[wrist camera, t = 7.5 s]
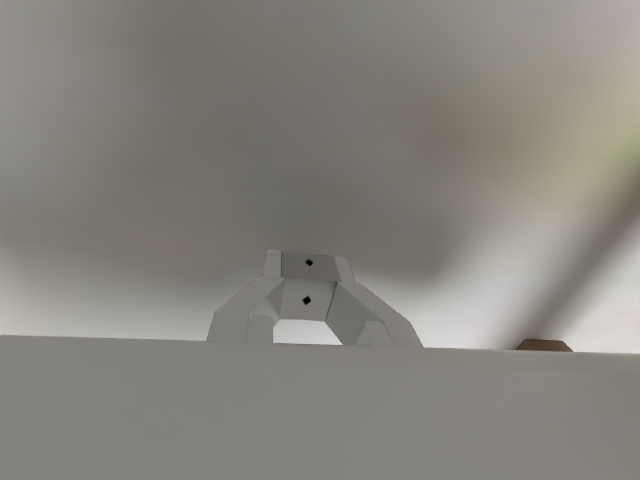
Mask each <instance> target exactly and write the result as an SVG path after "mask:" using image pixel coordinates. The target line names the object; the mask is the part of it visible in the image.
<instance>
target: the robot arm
mask: <svg viewBox="0 0 640 480" xmlns="http://www.w3.org/2000/svg"><path fill="white" fill-rule="evenodd" d="M279 319H300V320H315V321H326V322H325V323H326V324H327V325H328V326H329V328H330V329H331V330H332V331H333V333H334V334H335V335H336V336H337V338H338V339H339V340H340V341H341V343H342V344H343V345H322V344H288V343H273V327H274V326H275V324H276V323H277V322H278V320H279ZM0 480H640V354H631V353H595V352H561V351H527V350H494V349H458V348H425V347H423V345H422V344H421V342H420V340H419V338H418V336H417V334H416V332H415V330H414V328H413V326H412V325H411V323H410V322H409V321H408V320H407V319H405V318H404V317H403V316H402V315H400V314H399V313H398V312H396V311H395V310H394V309H392V308H391V307H390V306H388V305H387V304H386V303H385V302H383V301H382V300H381V299H379V298H378V297H377V296H375V295H374V294H373V293H372V292H370V291H369V290H368V289H366V288H365V287H364V286H362V285H361V284H360V283H356V282H355V279H354V276H353V274H352V271H351V268H350V266H349V263H348V260H347V258H346V257H344V256H327V255H314V254H307V253H298V252H290V251H282V250H281V251H280V250H272V249H267V250H266V257H265V265H264V273H263V276H259V277H258V278H257V279H255V280H254V281H253V282H252V283H250V284H249V285H248V286H247V287H245V288H244V289H243V290H242V291H240V292H239V293H238V294H237V295H235V296H234V297H233V298H231V299H230V300H229V301H228V302H226V303H225V304H224V305H223V306H221V307H220V308H219V309H218V310H216V311H215V312H214V316H213V319H212V323H211V326H210V330H209V333H208V337H207V341H188V340H155V339H122V338H88V337H55V336H22V335H0Z"/></svg>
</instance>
